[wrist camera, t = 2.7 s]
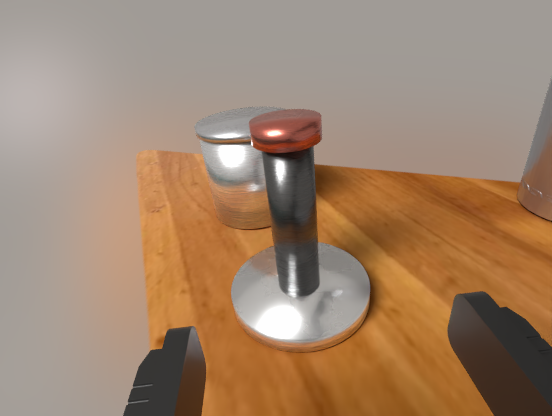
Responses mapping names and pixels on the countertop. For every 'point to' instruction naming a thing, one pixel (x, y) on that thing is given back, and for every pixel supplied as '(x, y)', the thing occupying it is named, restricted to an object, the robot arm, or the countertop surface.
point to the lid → (296, 250)
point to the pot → (235, 168)
